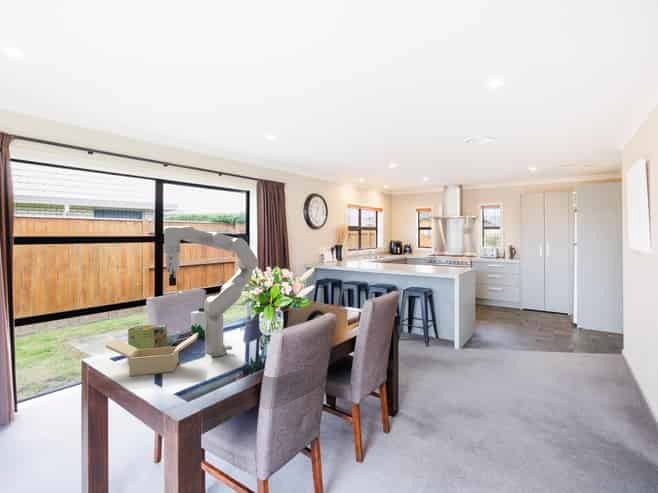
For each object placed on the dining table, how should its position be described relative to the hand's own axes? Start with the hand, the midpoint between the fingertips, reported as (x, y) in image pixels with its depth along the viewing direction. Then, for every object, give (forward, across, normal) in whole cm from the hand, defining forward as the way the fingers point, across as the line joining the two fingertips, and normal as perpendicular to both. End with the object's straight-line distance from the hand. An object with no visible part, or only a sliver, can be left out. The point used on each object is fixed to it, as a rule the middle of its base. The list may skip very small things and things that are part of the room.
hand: (172, 285), depth 180 cm
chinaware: (+37, +23, +8) cm, 45 cm away
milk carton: (+40, +42, -8) cm, 59 cm away
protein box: (+37, +5, +13) cm, 40 cm away
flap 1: (+29, -17, +14) cm, 36 cm away
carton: (+37, -17, +5) cm, 41 cm away
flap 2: (+29, -17, -4) cm, 34 cm away
